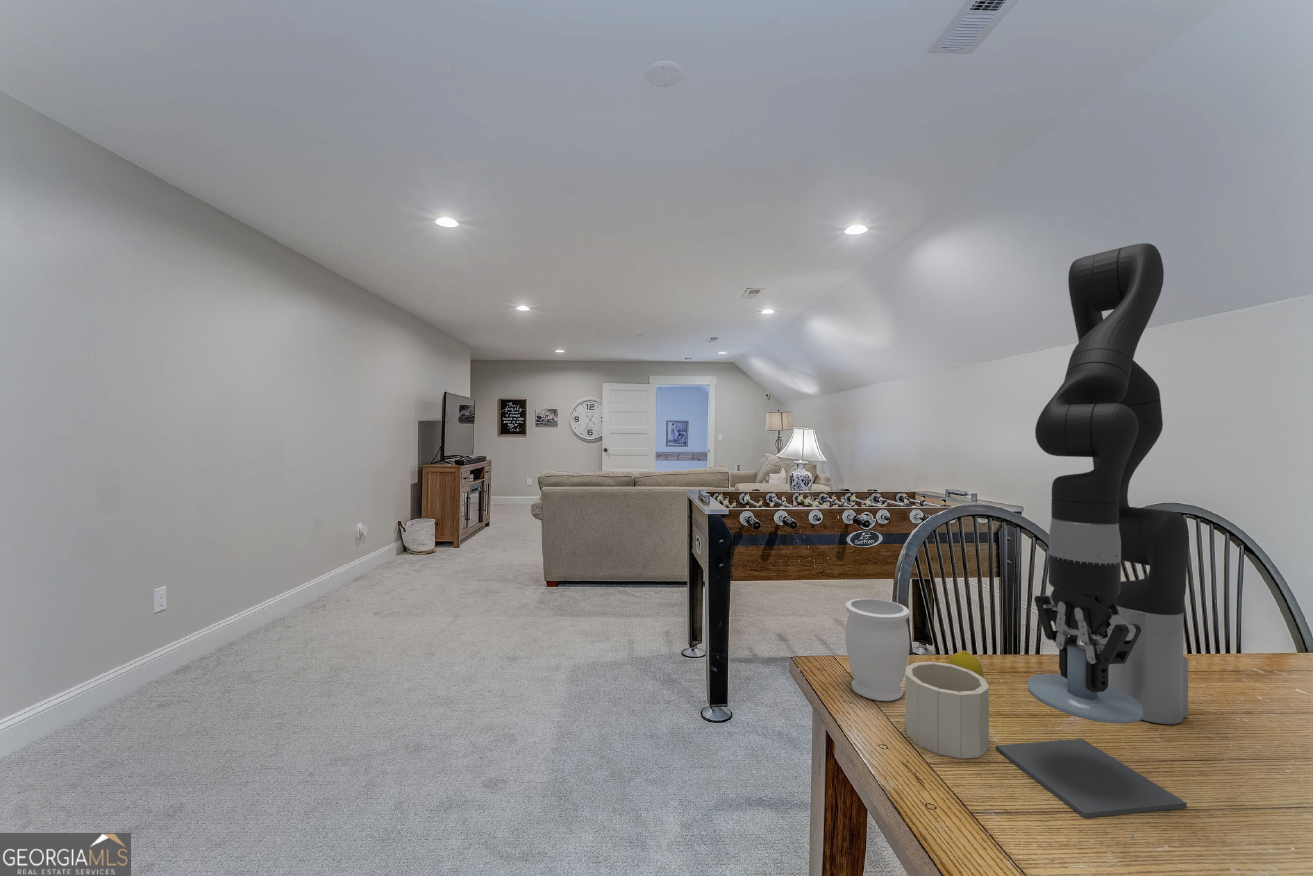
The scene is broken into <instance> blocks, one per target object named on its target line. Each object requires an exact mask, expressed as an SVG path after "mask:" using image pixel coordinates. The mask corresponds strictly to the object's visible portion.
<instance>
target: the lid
mask: <svg viewBox="0 0 1313 876" xmlns="http://www.w3.org/2000/svg"><path fill="white" fill-rule="evenodd" d="M1097 653H1099V650H1097ZM1086 662H1088V660H1087V656H1086V650H1085V645H1084V644H1080V643H1079V644H1069V645H1067V679H1066V678H1064V677H1062V676H1061V673H1060V674H1059V673H1057V674H1056V673H1041V674H1035V675H1033V676H1030V677H1028V679H1027V680H1026V682H1027V683H1026V684H1027V685H1026V687H1027V689H1026V690H1027V692H1029V694H1030V695H1031V697H1033V698H1034V699H1035V700H1037V701H1039V702H1040V703H1042V704H1044V705H1046V706H1048V707H1050V708H1053V709H1055V710H1057V711H1059V712H1061V713H1064V714H1067V715H1070V716H1074V717H1076V718H1077V717H1078V718H1081V719H1084V720H1088V721H1094V722H1099V723H1106V724H1118V725H1119V724H1120V725H1123V724H1125V725H1126V724H1133V723H1137V722H1139V721H1141V719H1142V717H1143V707H1142V705H1141V704H1140V703H1139V702H1138V701H1137V700H1136V699H1134V698H1133V697H1132V696H1130V695H1128V694H1126V693H1124V692H1122V691H1120V690H1118V689H1116V688H1113V687H1111V686H1108V688H1107V689H1106V690H1105V691H1104V692H1092V691H1090V690H1088V689H1087V688H1086Z"/></svg>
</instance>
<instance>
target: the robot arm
mask: <svg viewBox="0 0 1313 876" xmlns="http://www.w3.org/2000/svg"><path fill="white" fill-rule="evenodd" d="M1164 270H1165V269H1164V263H1163V259H1162V256H1161V253H1160V251H1159V249H1158V248H1157V247H1156V246H1155V245H1153V244H1152V243H1149V242H1148V243H1145V242H1143V243H1136V244H1130V245H1127V246H1123V247H1119V248H1115V249H1109V250H1106V251H1102V252H1099V253H1094V254H1090V255H1086V256H1083V257H1080V258H1076V259H1075V260H1073V262H1072V263H1071V265H1070V266H1069V270H1068V277H1067V278H1068V279H1067V280H1068V292H1069V299H1070V304H1071V310H1072V314H1073V320H1074V323H1075V324H1074V325H1075V328H1076V329H1075V330H1076V334H1077V338H1078V339H1077V341H1078V343H1077V344H1076V345H1075V347H1074V348H1073V351H1072V352H1071V355H1070V358H1069V361H1068V364H1067V369H1066V373H1065V376H1064V380H1063V383H1061V384H1060V386H1059V388H1058V390H1056V392H1055V394H1054V395H1053V396H1052V397H1051V399H1050V400H1049V401H1048V402H1047V404H1046V405H1044V406H1045V407H1044V408H1043V409H1042V411H1041V412H1040V414H1039V416H1038V419H1037V420H1036V425H1035V429H1034V430H1035V431H1034V432H1035V439H1036V442H1037V445H1038V446H1039V448H1040V449H1041V450H1042V452H1044V453H1046V454H1048V455H1051V456H1055V457H1072V458H1073V457H1074V458H1077V457H1078V458H1080V457H1081V458H1092V467H1093V469H1092V470H1090V471H1086V472H1081V473H1073V474H1066V475H1059V476H1057V477H1056V478H1055V479H1053V481H1052V482H1051V483H1052V484H1051V507H1050V508H1051V512H1050V513H1051V519H1050V527H1049V533H1048V584H1049V585H1050V586H1051V587H1052V588H1053V589H1052V591H1051V594H1049V595H1045V594H1044V595H1035V596H1034V603H1035V607H1036V610H1037V612H1038V616H1039V620H1040V623H1041V626H1042V630H1043V633H1044V636H1045V638H1046V639H1047V640H1048V641H1053V642H1054V643H1055V647H1056V648H1057V649H1058V662H1059V663H1058V668H1059V671H1060V674H1061V676H1062V677H1064V678H1066V679H1067V645H1069V644H1080V643H1082V644H1083V645H1085V650H1086V656H1087V660H1088V662H1086V688H1087V689H1088V690H1090V691H1092V692H1104V691H1105V690H1106V689H1107V688H1108V686H1111V687H1113V688H1116V689H1118V690H1120V691H1122V692H1124V693H1126V694H1128V695H1130V696H1132V697H1133V698H1134V699H1136V700H1137V701H1138V702H1139V703H1140V704H1141V705H1142V707H1143V717H1142V719H1141V720H1142V721H1145V722H1151V723H1156V724H1162V725H1163V724H1164V725H1176V724H1180V723H1182V722H1183V721H1184V718H1188V717H1189V707H1188V706H1189V660H1188V657H1186V656H1184V635H1185V634H1184V633H1185V632H1184V623H1185V622H1184V609H1185V608H1184V607H1185V606H1184V604H1185V599H1186V598H1185V597H1186V592H1187V591H1186V590H1187V574H1188V571H1187V570H1188V558H1189V549H1190V534H1189V533H1190V532H1189V527H1188V523H1187V521H1186V519H1185V517H1183V516H1184V515H1181V513H1178V512H1177V511H1172V510H1163V509H1154V508H1144V507H1135V506H1133V507H1132V506H1129V505H1130V504H1129V499H1128V494H1129V485H1130V482H1131V478H1132V477H1133V475H1134V473H1135V471H1136V469H1137V468H1138V467H1139V465H1140V464H1141V463H1142V462H1143V460H1144V459H1145V458H1146V456H1147V455H1148V454H1149V452H1150V451H1151V450H1152V448H1153V447H1154V445H1155V444H1156V442H1157V441H1158V439H1159V438H1160V436H1161V433H1162V430H1163V425H1164V424H1163V423H1164V422H1163V413H1162V411H1163V410H1162V401H1161V394H1160V393H1161V391H1160V388H1159V386H1158V385H1157V383H1156V381H1155V380H1154V379H1153V377H1152V376H1151V375H1150V374H1149V373H1148V372H1147V371H1146V370H1145V369H1144V368H1143V367H1141V365H1140V364H1138V363H1137V362H1136V361H1135V359H1134V358H1135V353H1136V351H1137V348H1138V344H1139V342H1140V340H1141V337H1142V335H1143V333H1144V332H1145V329H1146V327H1147V326H1148V323H1149V321H1150V319H1151V316H1152V315H1153V312H1154V310H1155V308H1156V305H1157V303H1158V301H1159V299H1160V297H1161V293H1162V290H1163V284H1164V278H1165V277H1164V275H1165V273H1164ZM1112 310H1113V311H1112ZM1107 311H1111V312H1110V313H1109V314H1108V315H1107V316H1105V317H1104V316H1103V312H1107ZM1122 562H1125V563H1132V564H1138V565H1142V566H1143V565H1144V566H1147V567H1148V566H1149V570H1148V571H1149V572H1148V575H1147V576H1146V577H1144V578H1141V579H1136V580H1123V581H1122V577H1121V575H1122ZM1052 622H1053V624H1052ZM1053 625H1054V628H1053ZM1093 635H1096V636H1093ZM1097 646H1098V648H1097ZM1097 651H1098V653H1097ZM1141 720H1140V721H1141Z"/></svg>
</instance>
